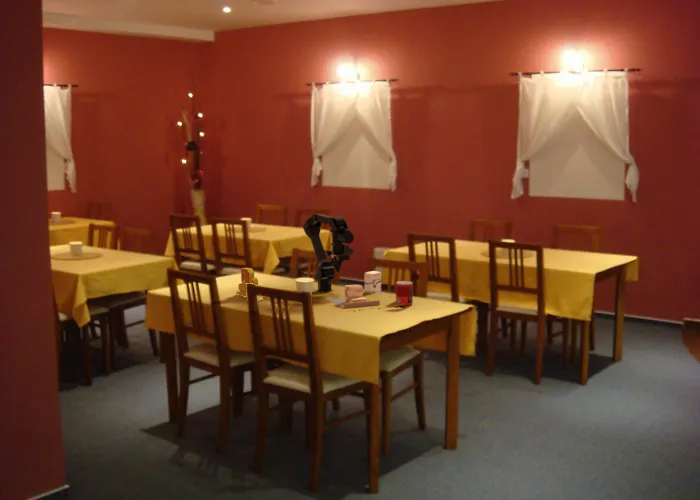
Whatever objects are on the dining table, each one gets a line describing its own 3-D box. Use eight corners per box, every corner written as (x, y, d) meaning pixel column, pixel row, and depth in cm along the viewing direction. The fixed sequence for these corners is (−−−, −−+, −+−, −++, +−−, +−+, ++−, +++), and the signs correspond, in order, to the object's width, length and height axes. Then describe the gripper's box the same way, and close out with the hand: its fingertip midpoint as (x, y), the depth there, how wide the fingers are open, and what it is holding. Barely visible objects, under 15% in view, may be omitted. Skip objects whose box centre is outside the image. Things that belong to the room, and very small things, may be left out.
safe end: (338, 308, 355) (338, 301, 354) (373, 304, 362) (373, 297, 362) (344, 311, 349) (344, 303, 348) (379, 307, 356) (379, 300, 355)
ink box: (371, 296, 381) (371, 273, 379) (363, 295, 384) (363, 272, 382) (381, 294, 388) (381, 271, 386) (373, 292, 391) (373, 270, 389)
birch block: (344, 302, 362) (344, 285, 361) (358, 300, 364) (358, 284, 363) (353, 306, 353) (353, 289, 352) (366, 304, 355) (366, 288, 354)
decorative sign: (263, 300, 373) (263, 270, 371) (258, 301, 371) (258, 271, 369) (241, 294, 388) (240, 265, 386) (236, 295, 386) (235, 266, 384)
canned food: (411, 307, 357) (411, 284, 356) (394, 306, 359) (394, 283, 357) (413, 303, 365) (413, 281, 363) (397, 302, 366) (397, 280, 365)
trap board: (324, 301, 371) (324, 298, 371) (358, 297, 378) (358, 294, 378) (338, 308, 355) (338, 305, 355) (373, 304, 362) (373, 301, 362)
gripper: (359, 242, 376) (359, 273, 378) (345, 238, 393) (345, 268, 395) (339, 244, 372) (339, 275, 374) (325, 239, 389) (325, 269, 391)
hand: (337, 271), depth 384 cm, fingers closed
